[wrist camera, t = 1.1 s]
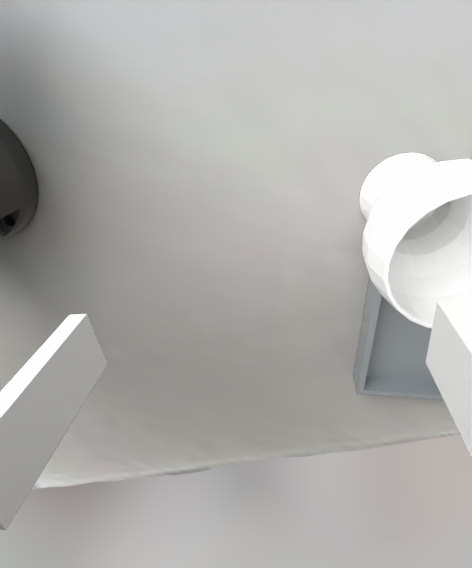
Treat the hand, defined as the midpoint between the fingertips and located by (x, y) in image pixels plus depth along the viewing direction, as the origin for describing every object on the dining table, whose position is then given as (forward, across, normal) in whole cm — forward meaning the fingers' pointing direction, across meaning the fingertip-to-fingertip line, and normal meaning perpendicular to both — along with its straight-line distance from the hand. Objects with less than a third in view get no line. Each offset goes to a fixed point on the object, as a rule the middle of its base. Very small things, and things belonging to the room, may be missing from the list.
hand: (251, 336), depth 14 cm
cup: (+24, +12, -3) cm, 27 cm away
